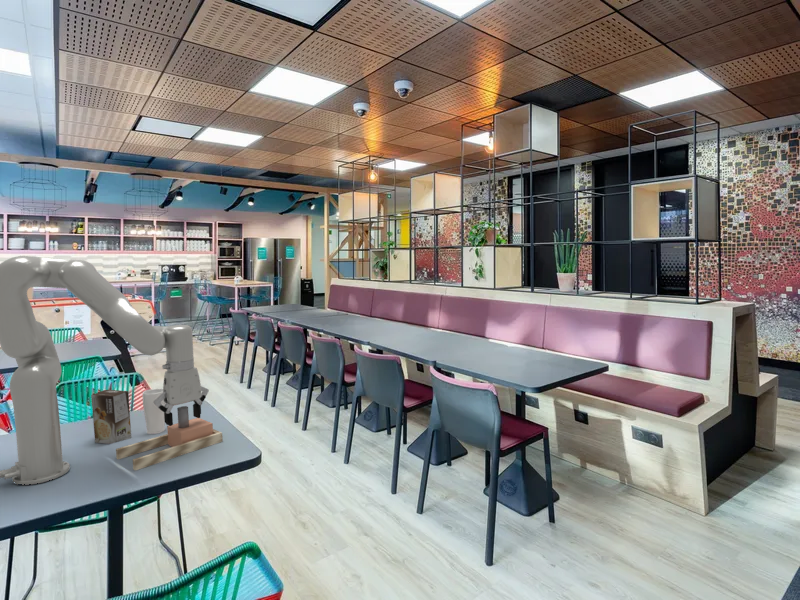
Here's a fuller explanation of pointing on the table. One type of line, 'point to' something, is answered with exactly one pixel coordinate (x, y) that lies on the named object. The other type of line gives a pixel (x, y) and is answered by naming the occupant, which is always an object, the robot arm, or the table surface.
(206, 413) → the table surface
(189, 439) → the salmon block with knob
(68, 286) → the robot arm
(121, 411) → the coffee box
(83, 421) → the table surface
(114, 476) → the table surface
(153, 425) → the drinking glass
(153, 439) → the bay
